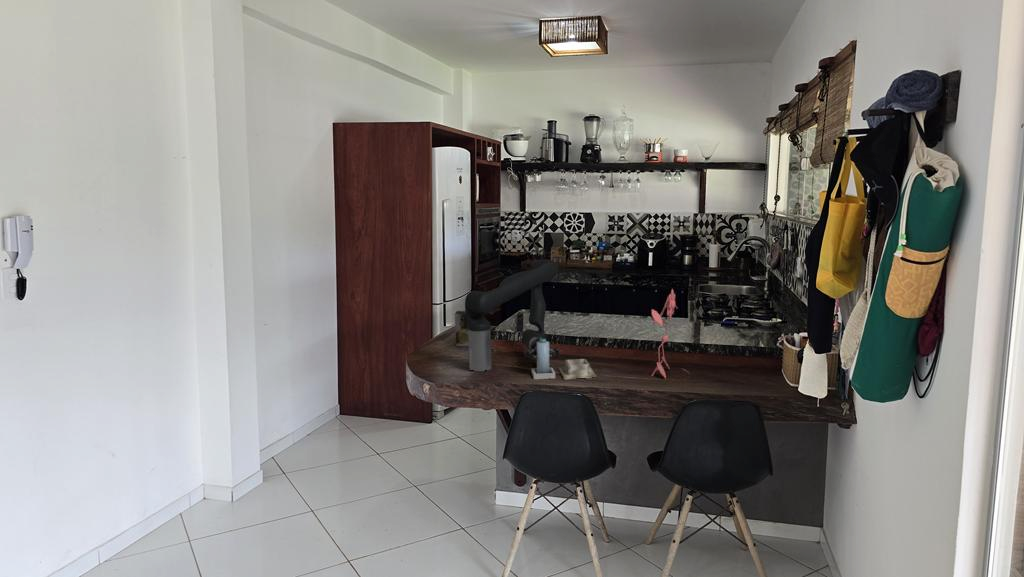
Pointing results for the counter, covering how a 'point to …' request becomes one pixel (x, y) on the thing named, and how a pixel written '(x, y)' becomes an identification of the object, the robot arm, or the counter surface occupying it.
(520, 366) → the counter surface
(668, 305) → the pink branching plant
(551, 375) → the white square tray
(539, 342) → the light blue bottle
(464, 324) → the coffee box
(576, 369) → the port
